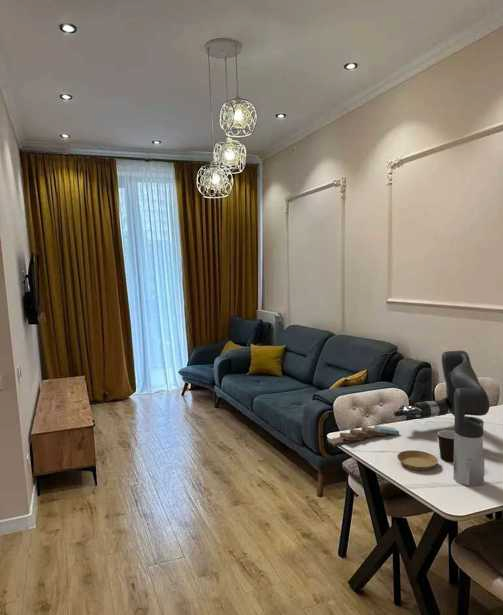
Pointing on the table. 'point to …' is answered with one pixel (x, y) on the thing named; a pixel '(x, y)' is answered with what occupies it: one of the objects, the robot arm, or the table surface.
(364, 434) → the domino
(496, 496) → the table surface
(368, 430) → the domino
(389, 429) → the domino
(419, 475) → the table surface
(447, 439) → the coffee mug
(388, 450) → the table surface
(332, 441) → the domino
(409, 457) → the plant saucer
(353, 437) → the domino
